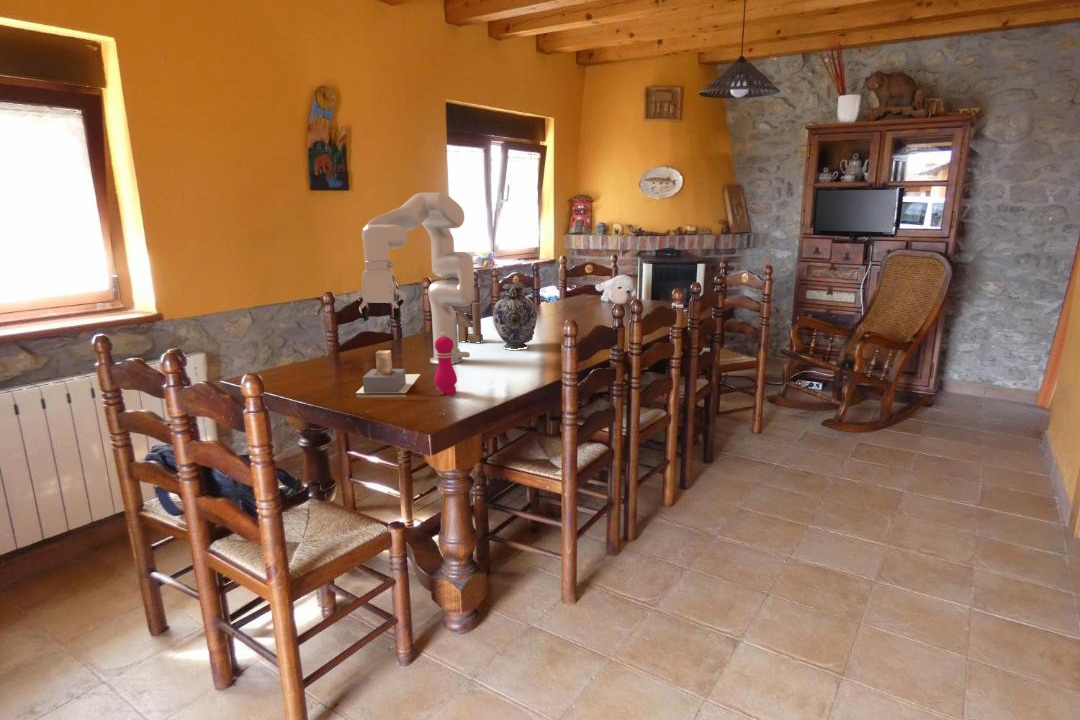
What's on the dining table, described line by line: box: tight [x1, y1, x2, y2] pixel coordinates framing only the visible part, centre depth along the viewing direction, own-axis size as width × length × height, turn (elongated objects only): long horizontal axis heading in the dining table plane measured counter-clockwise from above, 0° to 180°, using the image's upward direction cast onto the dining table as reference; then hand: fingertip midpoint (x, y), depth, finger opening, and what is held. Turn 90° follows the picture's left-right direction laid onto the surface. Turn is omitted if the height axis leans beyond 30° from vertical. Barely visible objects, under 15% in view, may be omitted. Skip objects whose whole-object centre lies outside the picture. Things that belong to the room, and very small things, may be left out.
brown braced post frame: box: [456, 302, 484, 342], centre depth 288 cm, size 4×11×18 cm, turn 69°
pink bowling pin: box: [433, 332, 458, 396], centre depth 207 cm, size 7×7×20 cm
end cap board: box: [355, 368, 421, 399], centre depth 215 cm, size 16×24×6 cm, turn 179°
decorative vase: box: [492, 281, 538, 349], centre depth 274 cm, size 21×19×28 cm
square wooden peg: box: [375, 349, 393, 375], centre depth 209 cm, size 4×4×12 cm
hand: (381, 320), depth 205 cm, fingers open, 9 cm apart
